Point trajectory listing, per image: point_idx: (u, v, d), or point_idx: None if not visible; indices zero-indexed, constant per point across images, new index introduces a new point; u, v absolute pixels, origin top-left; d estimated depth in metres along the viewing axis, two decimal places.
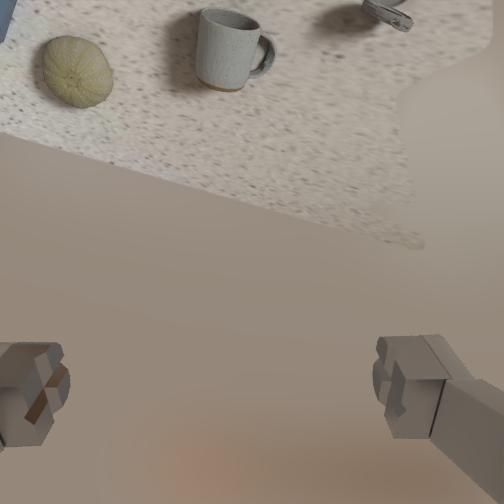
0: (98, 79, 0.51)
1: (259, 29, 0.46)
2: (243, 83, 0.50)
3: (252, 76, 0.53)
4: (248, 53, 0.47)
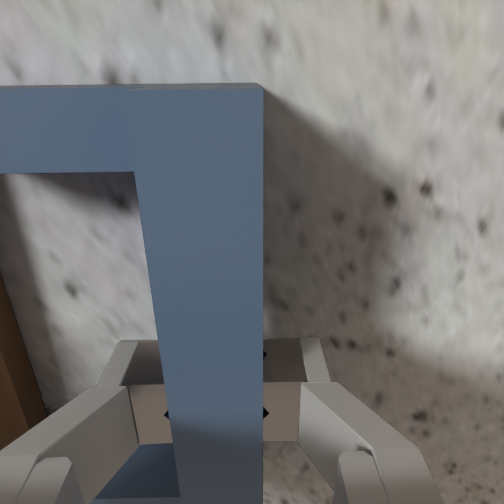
0: None
1: None
2: None
3: None
4: None
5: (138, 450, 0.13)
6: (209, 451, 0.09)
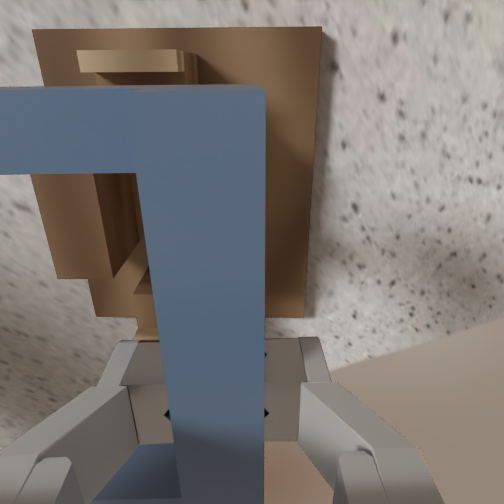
0: None
1: None
2: None
3: None
4: None
5: (138, 451, 0.13)
6: (210, 453, 0.09)
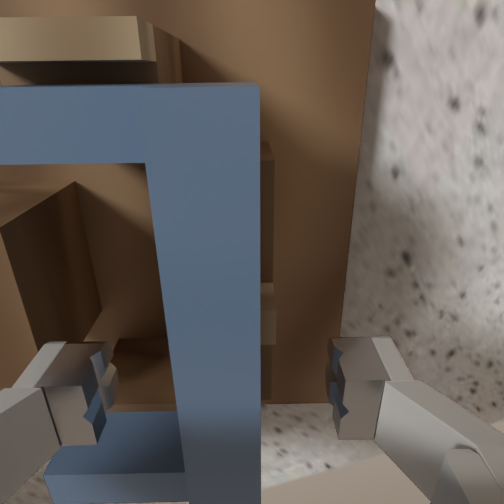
0: None
1: None
2: None
3: None
4: None
5: (143, 430, 0.14)
6: (211, 422, 0.09)
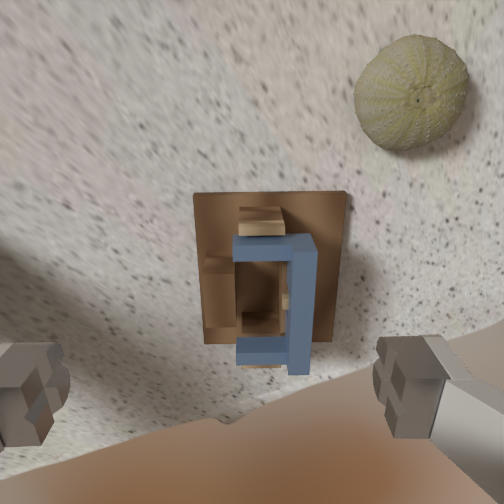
0: (400, 61, 0.30)
1: None
2: None
3: None
4: None
5: (264, 342, 0.39)
6: (299, 328, 0.34)
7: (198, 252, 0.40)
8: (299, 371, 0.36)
